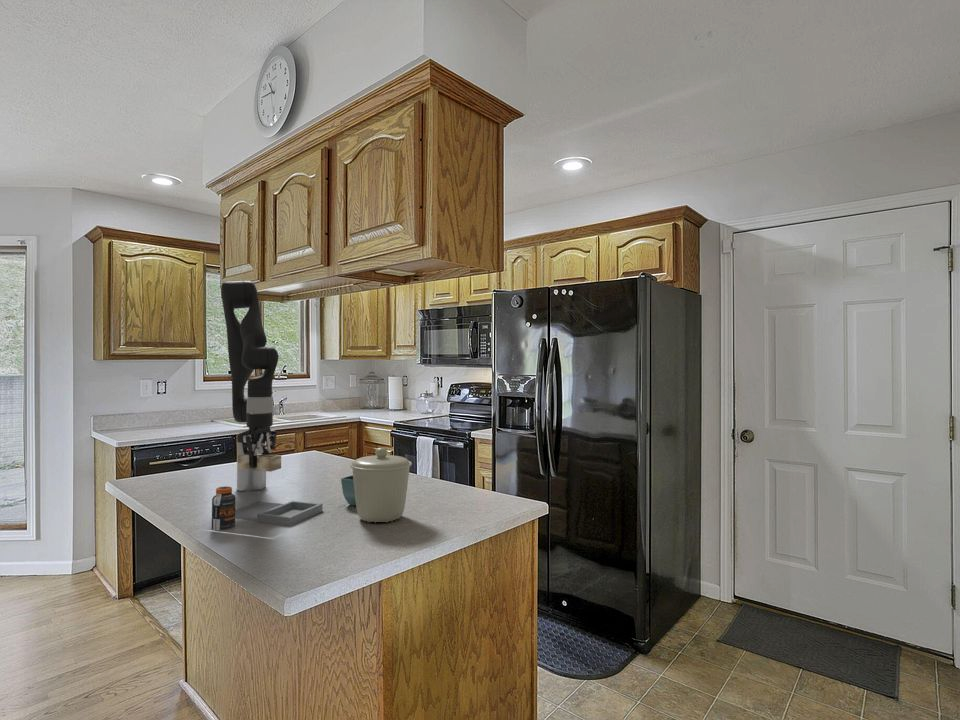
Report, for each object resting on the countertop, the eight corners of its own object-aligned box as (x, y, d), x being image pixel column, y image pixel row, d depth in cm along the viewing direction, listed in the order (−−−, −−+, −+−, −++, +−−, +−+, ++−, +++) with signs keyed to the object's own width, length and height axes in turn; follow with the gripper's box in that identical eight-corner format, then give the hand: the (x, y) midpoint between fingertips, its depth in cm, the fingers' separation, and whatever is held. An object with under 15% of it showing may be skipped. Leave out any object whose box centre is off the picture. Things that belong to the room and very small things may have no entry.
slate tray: (292, 509, 173) (292, 500, 173) (322, 512, 170) (322, 503, 170) (257, 523, 158) (257, 514, 158) (289, 527, 154) (289, 517, 154)
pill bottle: (219, 532, 149) (220, 491, 149) (207, 529, 152) (207, 488, 152) (239, 527, 154) (240, 486, 154) (226, 523, 157) (227, 484, 157)
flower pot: (339, 505, 177) (340, 478, 177) (357, 499, 185) (358, 473, 185) (361, 509, 173) (361, 481, 173) (378, 503, 181) (379, 476, 181)
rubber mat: (259, 502, 180) (259, 501, 180) (295, 506, 176) (295, 505, 176) (217, 517, 163) (217, 515, 163) (256, 521, 159) (256, 520, 159)
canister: (355, 530, 152) (356, 454, 152) (344, 513, 168) (345, 444, 168) (418, 523, 159) (419, 450, 159) (402, 508, 176) (402, 442, 176)
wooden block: (237, 468, 169) (237, 455, 169) (248, 465, 174) (249, 452, 174) (270, 471, 166) (270, 457, 166) (281, 468, 171) (281, 455, 171)
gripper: (265, 408, 178) (264, 461, 178) (232, 413, 164) (232, 469, 164) (284, 409, 175) (284, 462, 176) (254, 414, 162) (253, 471, 162)
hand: (259, 465), depth 170 cm, fingers closed on wooden block, 5 cm apart
